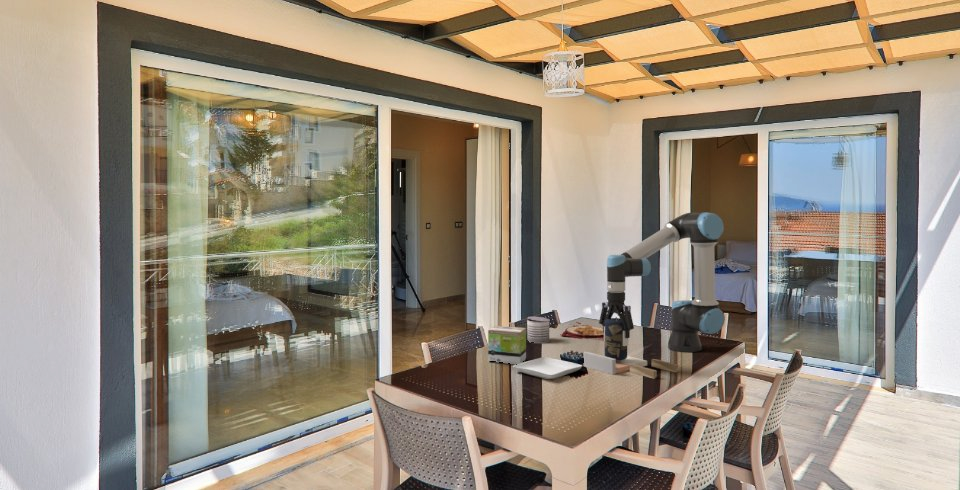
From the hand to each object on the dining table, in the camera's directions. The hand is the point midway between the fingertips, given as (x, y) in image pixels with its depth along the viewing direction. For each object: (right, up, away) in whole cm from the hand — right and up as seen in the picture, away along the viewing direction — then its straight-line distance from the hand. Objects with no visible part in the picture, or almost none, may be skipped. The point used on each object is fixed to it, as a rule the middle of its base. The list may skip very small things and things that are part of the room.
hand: (615, 343), depth 244 cm
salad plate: (-30, -11, -8) cm, 33 cm away
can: (-28, -7, +49) cm, 57 cm away
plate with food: (+1, -7, +65) cm, 65 cm away
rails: (+13, -10, -10) cm, 19 cm away
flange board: (0, -10, 0) cm, 10 cm away
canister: (0, -7, 0) cm, 7 cm away
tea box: (-46, -10, +11) cm, 48 cm away
